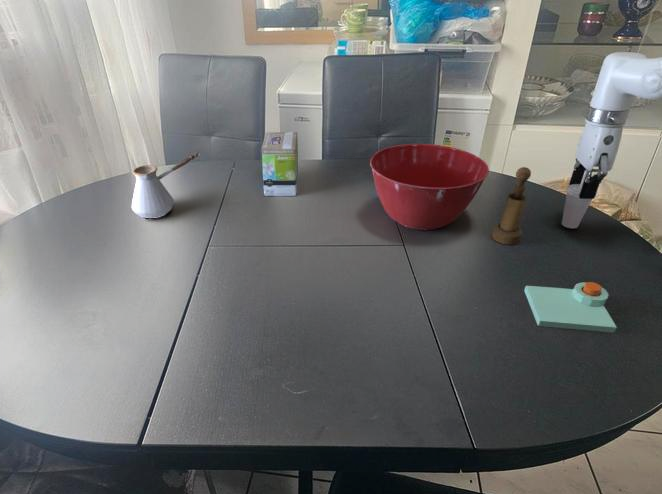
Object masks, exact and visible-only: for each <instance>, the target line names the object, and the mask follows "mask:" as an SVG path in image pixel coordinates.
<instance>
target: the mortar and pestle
mask: <svg viewBox="0 0 662 494" xmlns="http://www.w3.org/2000/svg"><path fill="white" fill-rule="evenodd" d="M531 175H532V171H531V169H530V168H528V167H526V166H522V167H520V168H518V169H517V170H516V172H515V177H516V178H515V179H516V181H517V183H516V185H514V187H513V192H511V193H509V194H508V195H507V198H506V203H505V206H504V211H503V214H502V217H501V220H500V223H497V224H495V225H494V226H493V228H492V233H491V238H492V239H493V240H494V241H495V242H497V243H499V244H502V245H507V246H514V245H518V244H519V243H520V242H521V239H522V235H523V230H522V229H521V228H520V227H519V225H520V223H521V219H522V215H523V212H524V209H525V205H526V202H527V199H528V198H527V196H526V195H524V192H525V190H526V186H525V183H527V181H529V179H530V178H531Z"/></svg>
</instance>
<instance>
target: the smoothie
mask: <svg viewBox="0 0 662 494" xmlns="http://www.w3.org/2000/svg"><path fill="white" fill-rule="evenodd" d="M586 174H587V171H585V172H584V175H583V178H582V181H581V184H572V185H569V184H568V186H566V189H565V192H566V195H565V200H564V201H565V202H564V207H563V213H562V218H561V225H562V226H563V227H565V228H567V229H577V228H579V226H580V224H581V222H582V220H583V218H584V216H585V215H586V212H587V210H588V209H589V207H590V205H591V203H592V201H593V199H580V198H579V195H580V192H581V189H582V186H583V183H584V180H585V177H586ZM586 178H587V177H586ZM585 181H586V180H585ZM597 194H598V191H597V192H596V195H595V197H596V196H597Z"/></svg>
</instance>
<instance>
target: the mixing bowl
mask: <svg viewBox="0 0 662 494" xmlns="http://www.w3.org/2000/svg"><path fill="white" fill-rule="evenodd" d="M369 165H370V168H371V171H372V176H373V181H374V185H375V190H376V192H377V195H378V197H379V201H380V203H381V205H382V208H383V209H384V211H385V213H386V214H387V215H388V216H389V217H390V218H391V219H392V220H393V221H395V222H397V223H398V224H400V225H401V226H403V227H404V228H405V227H406V228H408V229H412V230H417V231H432V230H436V229H439V228H443V227H446V226H448V225H450V224H451V223H453V222H455V221H456V220H457V219H458V218H459V217H460V216H461V215H462V214H463V212H465V210H467V208H468V207H469V205H470V204H471V203H472V201H473V199H475V196H476V195H477V193H478V192H479V190H480V188H481V186H482V185H483V182H484V181H485V179H486V178H487V177H488V175H489V173H490V169H489V165H488V164H487V163H486V162H485V160H483V159H482V158H480V157H479V156H477V155H475V154H474V153H471V152H468V151H466V150H463V149H461V148H457V147H452V146H446V145H440V144H432V143H407V144H398V145H391V146H389V147H385V148H382V149H380V150H378V151H376V152H375V153H374V154H373V155H372V156H371V158H370V161H369Z"/></svg>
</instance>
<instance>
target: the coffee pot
mask: <svg viewBox="0 0 662 494" xmlns="http://www.w3.org/2000/svg"><path fill="white" fill-rule="evenodd" d="M198 156H199V158H200V159H203V157H202V156H201V154H200V152H196V153H194V154H190V155H189V157H187V158H185V159H182V160H181V161H180V162H178V163H177V164H175V165H174V166H173V167H171V168H170V169H168V170H166V171H165V172H163V173H161V174H159V175H158V176H157V171H158V167H157V166H155V165H153V164H152V165H150V164H148V165H147V164H146V165H140V166H137V167H135V168H133V169H132V174H133V175H134V176H135V185H134V191H133V196H132V201H131V210H132V211H133V213H134V214H136V215H137V216H139V217H141V218H143V217H146V218H153V217H159V216H162V215H164V214H166V213H168V212H171V210H172V209H173V208H174V204H175V201H174V198H173V196H172V195H171V193H170V192H169V191H168V190H167V188H166V187H165V185H164V184H163V182H162V181H161V179H163V178H164V177H166V176H168V175H169V174H171V173H173V172H174V171H176V170H178V169H180V168H181V167H184V166H185V165H187V164H188V163H190V161H191V160H192V161H193V160H194V159H195V158H197V157H198ZM168 214H169V213H168Z"/></svg>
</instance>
